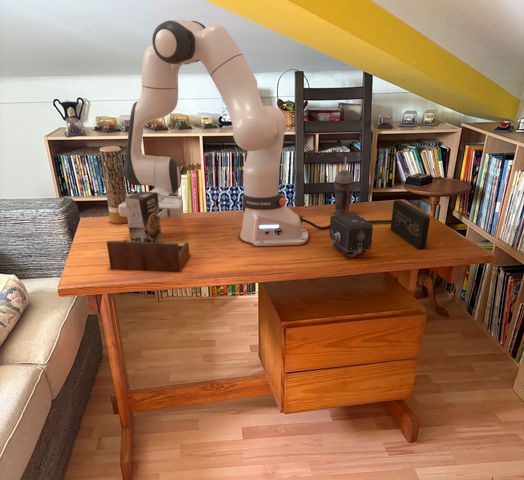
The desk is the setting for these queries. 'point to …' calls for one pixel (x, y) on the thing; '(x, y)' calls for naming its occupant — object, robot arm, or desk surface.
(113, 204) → the wooden log
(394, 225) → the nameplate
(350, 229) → the camera
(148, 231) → the coffee box
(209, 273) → the desk surface
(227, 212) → the desk surface
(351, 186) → the beverage cup
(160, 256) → the dark brown wooden box
